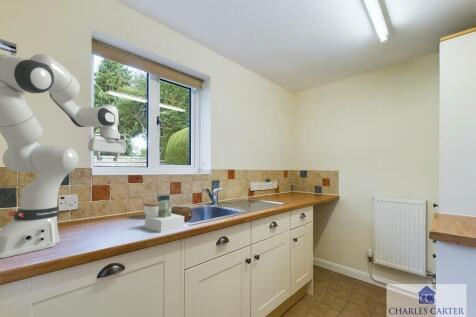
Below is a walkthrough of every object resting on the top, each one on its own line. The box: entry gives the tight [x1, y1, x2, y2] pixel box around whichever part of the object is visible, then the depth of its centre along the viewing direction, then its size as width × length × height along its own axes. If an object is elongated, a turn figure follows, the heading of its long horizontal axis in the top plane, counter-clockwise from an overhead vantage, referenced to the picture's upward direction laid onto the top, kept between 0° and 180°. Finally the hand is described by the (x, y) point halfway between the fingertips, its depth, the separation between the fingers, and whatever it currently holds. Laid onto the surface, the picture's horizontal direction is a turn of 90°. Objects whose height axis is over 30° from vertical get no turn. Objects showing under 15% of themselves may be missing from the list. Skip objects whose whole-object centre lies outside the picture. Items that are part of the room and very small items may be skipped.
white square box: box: [144, 213, 185, 233], centre depth 118 cm, size 14×14×6 cm
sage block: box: [158, 199, 173, 218], centre depth 119 cm, size 5×5×8 cm
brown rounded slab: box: [171, 205, 194, 223], centre depth 134 cm, size 15×3×8 cm, turn 76°
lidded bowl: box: [143, 198, 160, 217], centre depth 141 cm, size 13×13×11 cm
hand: (107, 160), depth 122 cm, fingers open, 8 cm apart
